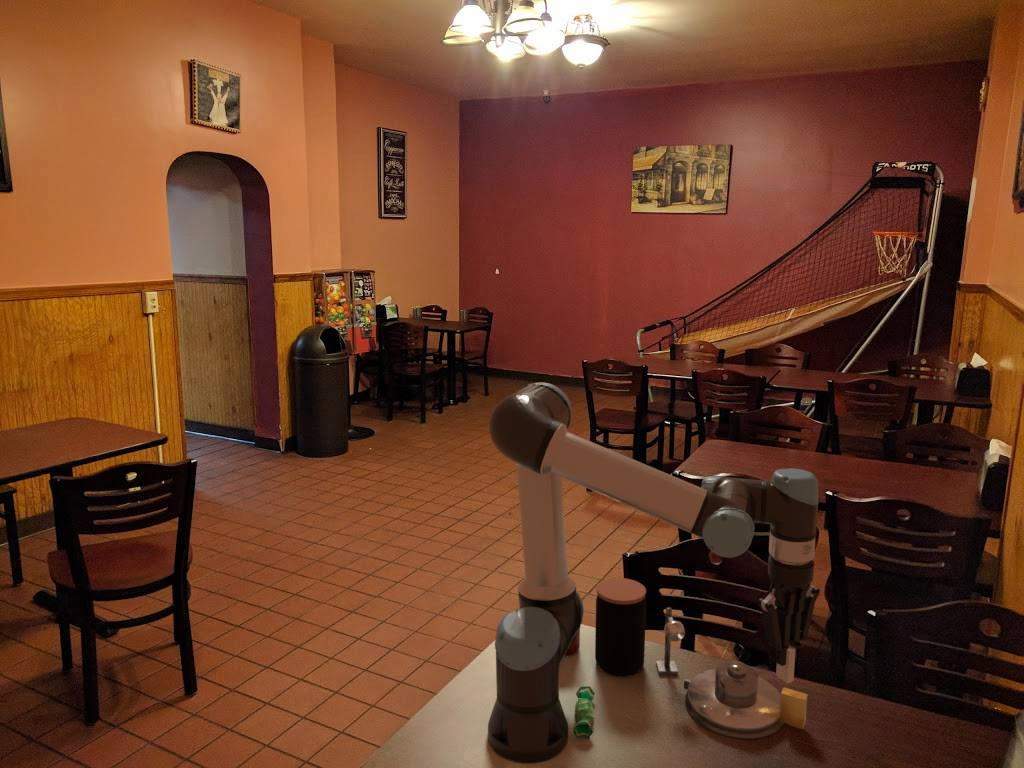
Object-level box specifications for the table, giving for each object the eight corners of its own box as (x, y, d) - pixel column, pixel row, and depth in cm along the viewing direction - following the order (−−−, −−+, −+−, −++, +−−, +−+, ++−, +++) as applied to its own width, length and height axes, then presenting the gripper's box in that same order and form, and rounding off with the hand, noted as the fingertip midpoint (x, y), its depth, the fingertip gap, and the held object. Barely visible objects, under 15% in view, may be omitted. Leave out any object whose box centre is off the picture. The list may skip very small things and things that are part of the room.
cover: (719, 708, 142) (720, 677, 141) (710, 683, 150) (712, 654, 149) (761, 709, 142) (763, 678, 141) (750, 684, 150) (752, 654, 148)
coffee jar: (642, 652, 167) (644, 578, 163) (645, 680, 157) (648, 601, 153) (594, 650, 168) (595, 576, 165) (595, 677, 158) (596, 599, 154)
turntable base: (696, 739, 138) (696, 736, 138) (676, 679, 157) (677, 677, 156) (799, 740, 137) (799, 737, 137) (767, 680, 156) (767, 677, 156)
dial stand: (663, 689, 153) (665, 623, 150) (656, 664, 162) (658, 601, 159) (682, 689, 153) (685, 623, 150) (674, 664, 162) (676, 601, 159)
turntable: (698, 732, 138) (699, 704, 137) (679, 676, 156) (680, 650, 155) (812, 734, 138) (814, 705, 136) (780, 677, 155) (782, 651, 154)
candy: (596, 736, 138) (584, 719, 138) (581, 744, 139) (569, 727, 138) (598, 697, 150) (586, 681, 149) (583, 705, 150) (572, 689, 150)
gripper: (780, 573, 124) (773, 700, 128) (835, 557, 129) (827, 679, 134) (747, 556, 130) (742, 677, 135) (801, 542, 136) (794, 658, 140)
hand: (784, 678), depth 134 cm, fingers closed
